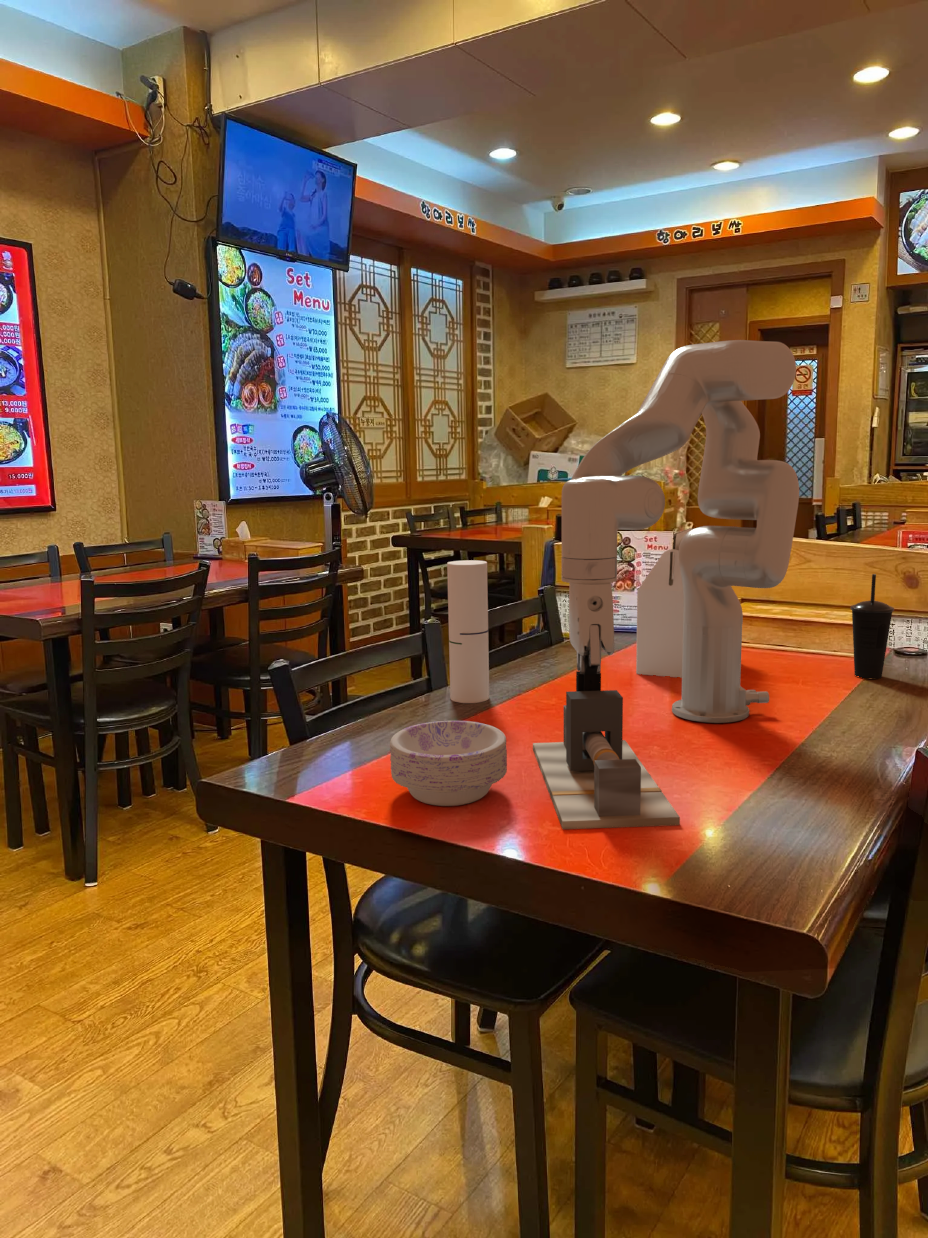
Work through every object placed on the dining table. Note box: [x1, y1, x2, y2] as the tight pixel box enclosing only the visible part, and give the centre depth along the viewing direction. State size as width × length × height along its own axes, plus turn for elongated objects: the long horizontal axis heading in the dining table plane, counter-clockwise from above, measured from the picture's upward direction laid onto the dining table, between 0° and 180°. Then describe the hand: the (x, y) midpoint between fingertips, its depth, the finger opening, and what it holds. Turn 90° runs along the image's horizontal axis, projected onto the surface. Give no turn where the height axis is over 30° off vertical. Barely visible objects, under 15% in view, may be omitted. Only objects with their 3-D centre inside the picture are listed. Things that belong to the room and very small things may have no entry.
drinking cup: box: [850, 573, 895, 679], centre depth 176 cm, size 8×8×20 cm
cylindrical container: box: [446, 559, 490, 704], centre depth 165 cm, size 7×7×25 cm
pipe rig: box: [532, 704, 681, 830], centre depth 122 cm, size 30×14×7 cm, turn 2°
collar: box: [565, 689, 624, 771], centre depth 124 cm, size 4×7×10 cm, turn 92°
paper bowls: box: [389, 720, 508, 807], centre depth 119 cm, size 15×15×8 cm
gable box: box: [635, 528, 693, 679], centre depth 187 cm, size 22×13×28 cm, turn 155°
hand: (588, 699), depth 128 cm, fingers closed
